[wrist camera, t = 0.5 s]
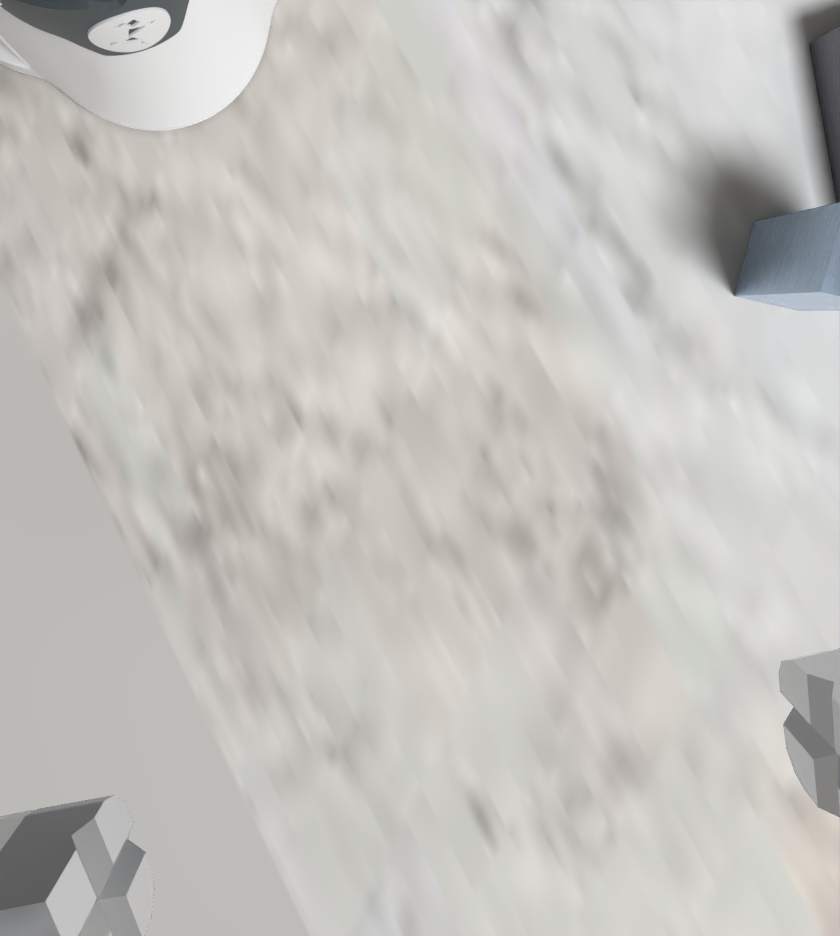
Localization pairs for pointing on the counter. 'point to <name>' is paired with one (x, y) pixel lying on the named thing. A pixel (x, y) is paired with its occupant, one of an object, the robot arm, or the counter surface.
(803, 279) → the block
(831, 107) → the ledge
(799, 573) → the counter surface
